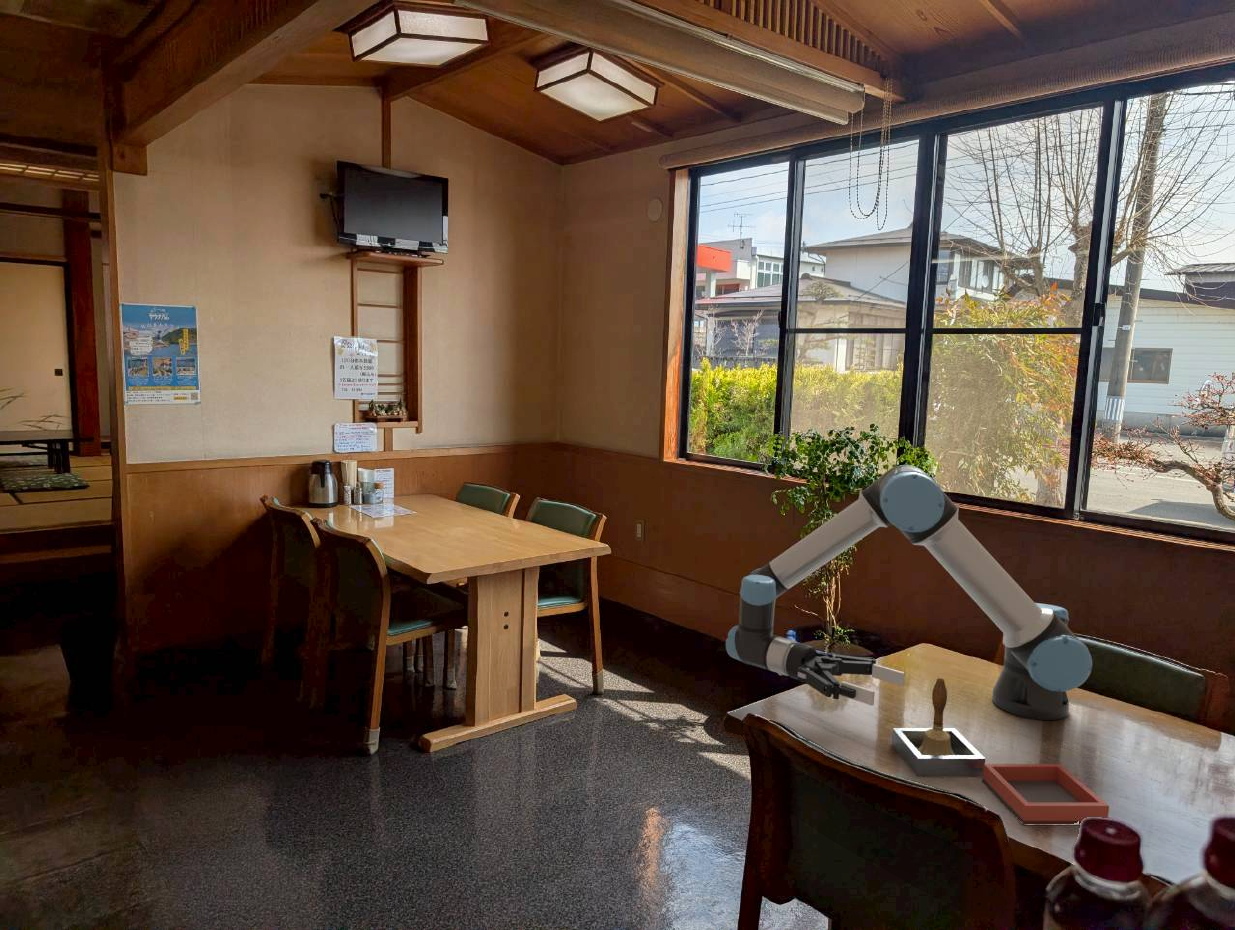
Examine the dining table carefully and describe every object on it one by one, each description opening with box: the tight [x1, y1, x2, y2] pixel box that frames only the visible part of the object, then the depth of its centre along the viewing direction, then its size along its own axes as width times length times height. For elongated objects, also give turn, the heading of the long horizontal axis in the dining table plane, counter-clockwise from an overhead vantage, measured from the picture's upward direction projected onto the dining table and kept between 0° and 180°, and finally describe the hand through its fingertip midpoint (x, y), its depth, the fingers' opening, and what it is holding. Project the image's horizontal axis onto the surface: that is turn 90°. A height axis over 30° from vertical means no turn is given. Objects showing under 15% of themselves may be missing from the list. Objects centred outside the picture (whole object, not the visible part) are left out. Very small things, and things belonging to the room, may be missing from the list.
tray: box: [981, 763, 1110, 825], centre depth 141 cm, size 14×14×3 cm
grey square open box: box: [891, 727, 986, 778], centre depth 156 cm, size 12×12×4 cm
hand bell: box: [916, 677, 955, 755], centre depth 155 cm, size 8×8×16 cm
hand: (889, 688), depth 161 cm, fingers open, 13 cm apart
